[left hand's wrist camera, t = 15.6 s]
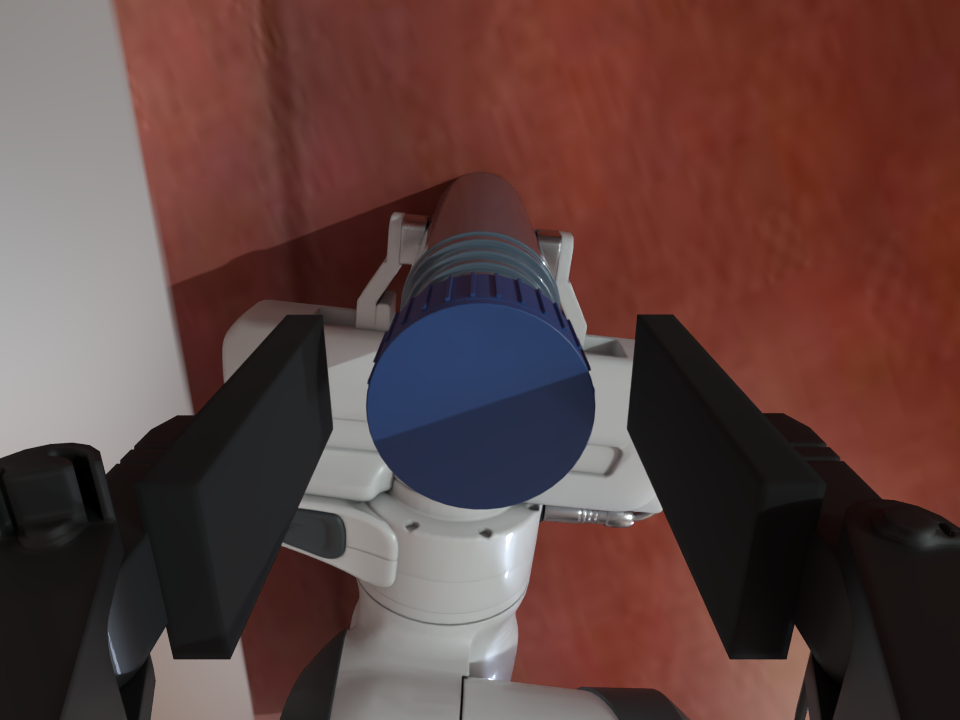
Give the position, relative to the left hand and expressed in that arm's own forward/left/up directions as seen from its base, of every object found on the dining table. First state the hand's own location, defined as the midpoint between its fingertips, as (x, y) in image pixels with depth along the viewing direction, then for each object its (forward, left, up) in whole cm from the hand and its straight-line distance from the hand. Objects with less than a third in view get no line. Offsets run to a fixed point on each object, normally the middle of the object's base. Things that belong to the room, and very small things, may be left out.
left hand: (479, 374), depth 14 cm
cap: (0, 0, +2) cm, 2 cm away
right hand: (-1, 0, -13) cm, 14 cm away
